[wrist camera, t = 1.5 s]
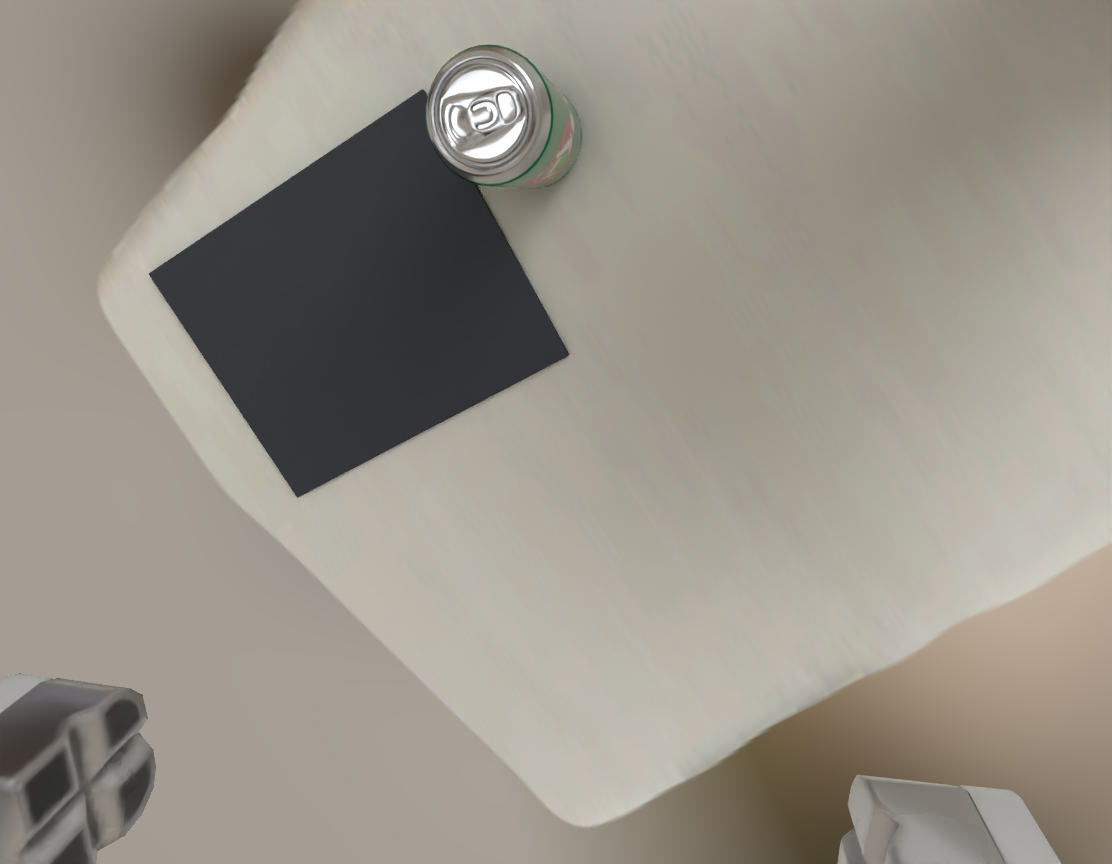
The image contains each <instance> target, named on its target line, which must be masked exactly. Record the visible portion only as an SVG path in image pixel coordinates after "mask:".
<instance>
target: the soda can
mask: <svg viewBox="0 0 1112 864" xmlns="http://www.w3.org/2000/svg"><path fill="white" fill-rule="evenodd" d="M426 124H427V130H428V134H429V138H430V141H431V143H432V146H433V148H434V150H435V152H436V153H437V155H438V157H439V158H440V159H441V161H442V162H443V163H444V164H445V166H446V167H447V168H449V169H450V170H451V171H452V172H453V173H454V174H456V175H457V176H459V177H460V178H462V179H464V180H466V181H468V182H471V183H474V184H478V185H484V186H497V187H517V188H542V187H546V186H549V185H551V184H554V183H556V182H557V181H559V180H560V179H562V178H563V177H564V176H565V175H566V174H567V173H568V172H569V171H570V170H571V168H572V167H573V165H574V163H575V162H576V160H577V157H578V155H579V152H580V148H581V140H582V131H581V125H580V120H579V117H578V114H577V112H576V110H575V108H574V107H573V105H572V104H571V102H570V101H569V100H568V99H567V98H566V97H565V96H564V95H563V94H562V93H561V92H560V91H559V90H558V89H557V88H556V87H555V86H554V85H553V84H552V83H551V82H550V81H549V80H548V79H547V78H546V77H545V76H544V75H543V74H542V73H541V72H540V71H539V70H538V69H537V68H536V67H535V66H534V65H533V64H532V63H531V62H530V61H529V60H528V59H527V58H525V57H524V56H522V55H521V54H520V53H518V52H516V51H514V50H512V49H509V48H506V47H502V46H499V45H479V46H475V47H471V48H468V49H466V50H464V51H462V52H460V53H458V54H457V55H455V56H454V57H452V58H451V59H450V60H449V61H448V62H447V63H446V64H445V65H444V66H443V67H442V68H441V70H440V71H439V72H438V74H437V75H436V77H435V79H434V81H433V83H432V85H431V88H430V91H429V94H428V99H427V104H426Z"/></svg>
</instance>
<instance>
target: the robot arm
mask: <svg viewBox="0 0 1112 864" xmlns="http://www.w3.org/2000/svg"><path fill="white" fill-rule="evenodd" d="M147 719H148V717H147V712H146V708H145V704H144V699H143V695H142V694H140V693H138V692H136V691H134V690H132V689H130V688H123V687H116V686H109V685H102V684H94V683H88V682H81V681H74V680H68V679H61V678H55V679H53V678H47V677H41V676H34V675H28V674H21V673H19V674H15V675H11V676H6V677H2V678H1V679H0V864H96V861H97V851H98V850H100V849H102V848H104V847H105V846H107V845H109V844H111V843H112V842H114V841H116V840H118V839H120V838H121V837H123V836H125V835H126V833H127V832H128V831H129V830H130V828H131V827H132V826H133V825H134V823H135V822H136V821H137V820H138V818H139V817H140V816H141V815H142V813H143V811H144V808H145V806H146V804H147V801H148V799H149V797H150V795H151V792H152V790H153V787H154V779H155V771H156V764H155V758H154V752H153V749H152V748H151V747H150V745H149V744H148V743H147V742H146V740H145V739H144V738H143V737H142V736H141V735H140V733H139V731H140V729H141V728H142V726H143V725H144V723H145V722H146V720H147ZM848 807H849V811H850V814H851V817H852V821H853V824H854V829H852V830H851V831H850V832H849V833H847V834H846V835H845V836H844V837H842V839H841V845H840V851H839V858H838V864H1061V862H1060V861H1059V859H1058V857H1057V856H1056V854H1055V853H1054V851H1053V849H1052V848H1051V846H1050V844H1049V843H1048V841H1047V840H1046V838H1045V836H1044V835H1043V833H1042V831H1041V830H1040V828H1039V827H1038V825H1037V823H1036V822H1035V820H1034V818H1033V817H1032V815H1031V813H1030V812H1029V810H1028V809H1027V807H1026V805H1025V804H1024V802H1023V801H1022V799H1021V798H1020V797H1019V796H1018V795H1016V794H1015V793H1014V792H1012V791H1011V790H1004V789H994V788H983V787H973V786H963V785H959V786H957V787H956V786H953V785H944V784H935V783H926V782H917V781H908V780H899V779H889V778H881V777H872V776H863V775H857V776H856V778H855V780H854V782H853V784H852V786H851V791H850V796H849V801H848Z"/></svg>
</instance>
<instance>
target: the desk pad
mask: <svg viewBox="0 0 1112 864" xmlns="http://www.w3.org/2000/svg"><path fill="white" fill-rule="evenodd" d="M427 99H428V96H427V95H426V93H425V91H424V90H421V91H419V92H418V93H416V94H415V95H413V96H412V97H410V98H409V99H407V100H406V101H404V102H403V103H401V104H400V105H399V106H397V107H396V108H394V109H393V110H391V111H390V112H388V113H387V114H385V115H384V116H382V117H381V118H379V119H378V120H376V121H375V122H373V123H372V124H370V125H369V126H367V127H366V128H364V129H363V130H361V131H360V132H358V133H357V134H355V135H354V136H353V137H351V138H350V139H348V140H347V141H345V142H344V143H342V144H341V145H339V146H338V147H336V148H335V149H333V150H332V151H330V152H329V153H327V154H326V155H324V156H323V157H321V158H320V159H318V160H317V161H315V162H314V163H312V164H311V165H309V166H308V167H306V168H305V169H304V170H302V171H301V172H299V173H298V174H296V175H295V176H293V177H292V178H290V179H289V180H287V181H286V182H284V183H283V184H281V185H280V186H278V187H277V188H275V189H274V190H272V191H271V192H269V193H268V194H266V195H265V196H263V197H262V198H260V199H259V200H258V201H256V202H255V203H253V204H252V205H250V206H249V207H247V208H246V209H244V210H243V211H241V212H240V213H238V214H237V215H235V216H234V217H232V218H231V219H229V220H228V221H226V222H225V223H223V224H222V225H220V226H219V227H217V228H216V229H214V230H213V231H212V232H210V233H209V234H207V235H206V236H204V237H203V238H201V239H200V240H198V241H197V242H195V243H194V244H192V245H191V246H189V247H188V248H186V249H185V250H183V251H182V252H180V253H179V254H177V255H176V256H174V257H173V258H171V259H170V260H168V261H167V262H165V263H164V264H163V265H161V266H160V267H158V268H157V269H155V270H154V271H152V272H151V273H149V275H150V277H151V278H152V280H153V281H154V283H155V284H156V286H157V287H158V289H159V290H160V292H161V293H162V295H163V296H164V298H165V299H166V301H167V302H168V304H169V305H170V307H171V308H172V310H173V311H174V313H175V314H176V316H177V317H178V319H179V320H180V322H181V323H182V325H183V326H184V328H185V329H186V331H187V332H188V334H189V335H190V337H191V338H192V340H193V341H194V343H195V344H196V346H197V347H198V349H199V350H200V352H201V353H202V355H203V356H204V358H205V359H206V361H207V362H208V364H209V365H210V367H211V368H212V370H213V371H214V373H215V374H216V376H217V377H218V379H219V380H220V382H221V383H222V385H223V386H224V388H225V389H226V391H227V392H228V394H229V395H230V397H231V398H232V400H233V401H234V403H235V404H236V406H237V407H238V409H239V410H240V412H241V413H242V415H243V416H244V418H245V419H246V421H247V422H248V424H249V425H250V427H251V428H252V430H253V432H254V433H255V435H256V436H257V438H258V439H259V441H260V442H261V444H262V445H263V447H264V448H265V450H266V451H267V453H268V454H269V456H270V457H271V459H272V460H273V462H274V463H275V465H276V466H277V468H278V469H279V471H280V472H281V474H282V475H283V477H284V478H285V480H286V481H287V483H288V484H289V486H290V487H291V489H292V490H293V492H294V493H295V495H296V496H297V497H299V496H301V495H303V494H305V493H307V492H309V491H311V490H313V489H314V488H316V487H318V486H320V485H322V484H324V483H326V482H328V481H330V480H332V479H334V478H335V477H337V476H339V475H341V474H343V473H345V472H347V471H349V470H351V469H353V468H355V467H357V466H358V465H360V464H362V463H364V462H366V461H368V460H370V459H372V458H374V457H376V456H378V455H379V454H381V453H383V452H385V451H387V450H389V449H391V448H393V447H395V446H397V445H399V444H401V443H402V442H404V441H406V440H408V439H410V438H412V437H414V436H416V435H418V434H420V433H422V432H423V431H425V430H427V429H429V428H431V427H433V426H435V425H437V424H439V423H441V422H443V421H444V420H446V419H448V418H450V417H452V416H454V415H456V414H458V413H460V412H462V411H464V410H466V409H467V408H469V407H471V406H473V405H475V404H477V403H479V402H481V401H483V400H485V399H487V398H488V397H490V396H492V395H494V394H496V393H498V392H500V391H502V390H504V389H506V388H508V387H510V386H511V385H513V384H515V383H517V382H519V381H521V380H523V379H525V378H527V377H529V376H531V375H532V374H534V373H536V372H538V371H540V370H542V369H544V368H546V367H548V366H550V365H552V364H553V363H555V362H557V361H559V360H561V359H563V358H565V357H567V356H568V355H569V353H568V351H567V350H566V348H565V346H564V344H563V342H562V341H561V339H560V337H559V335H558V333H557V331H556V330H555V328H554V326H553V324H552V322H551V321H550V319H549V317H548V315H547V313H546V311H545V310H544V308H543V306H542V304H541V302H540V300H539V299H538V297H537V295H536V293H535V291H534V290H533V288H532V286H531V284H530V282H529V280H528V279H527V277H526V275H525V273H524V271H523V269H522V268H521V266H520V264H519V262H518V260H517V259H516V257H515V255H514V253H513V251H512V249H511V248H510V246H509V244H508V242H507V240H506V238H505V237H504V235H503V233H502V231H501V229H500V228H499V226H498V224H497V222H496V220H495V218H494V217H493V215H492V213H491V211H490V209H489V208H488V206H487V204H486V202H485V200H484V198H483V197H482V195H481V193H480V191H479V189H478V187H477V186H476V184H474V183H471V182H468V181H466V180H464V179H462V178H460V177H459V176H457V175H456V174H454V173H453V172H452V171H451V170H450V169H449V168H447V167H446V166H445V164H444V163H443V162H442V161H441V159H440V158H439V157H438V155H437V153H436V152H435V150H434V148H433V146H432V143H431V141H430V138H429V134H428V130H427V124H426V104H427Z"/></svg>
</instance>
